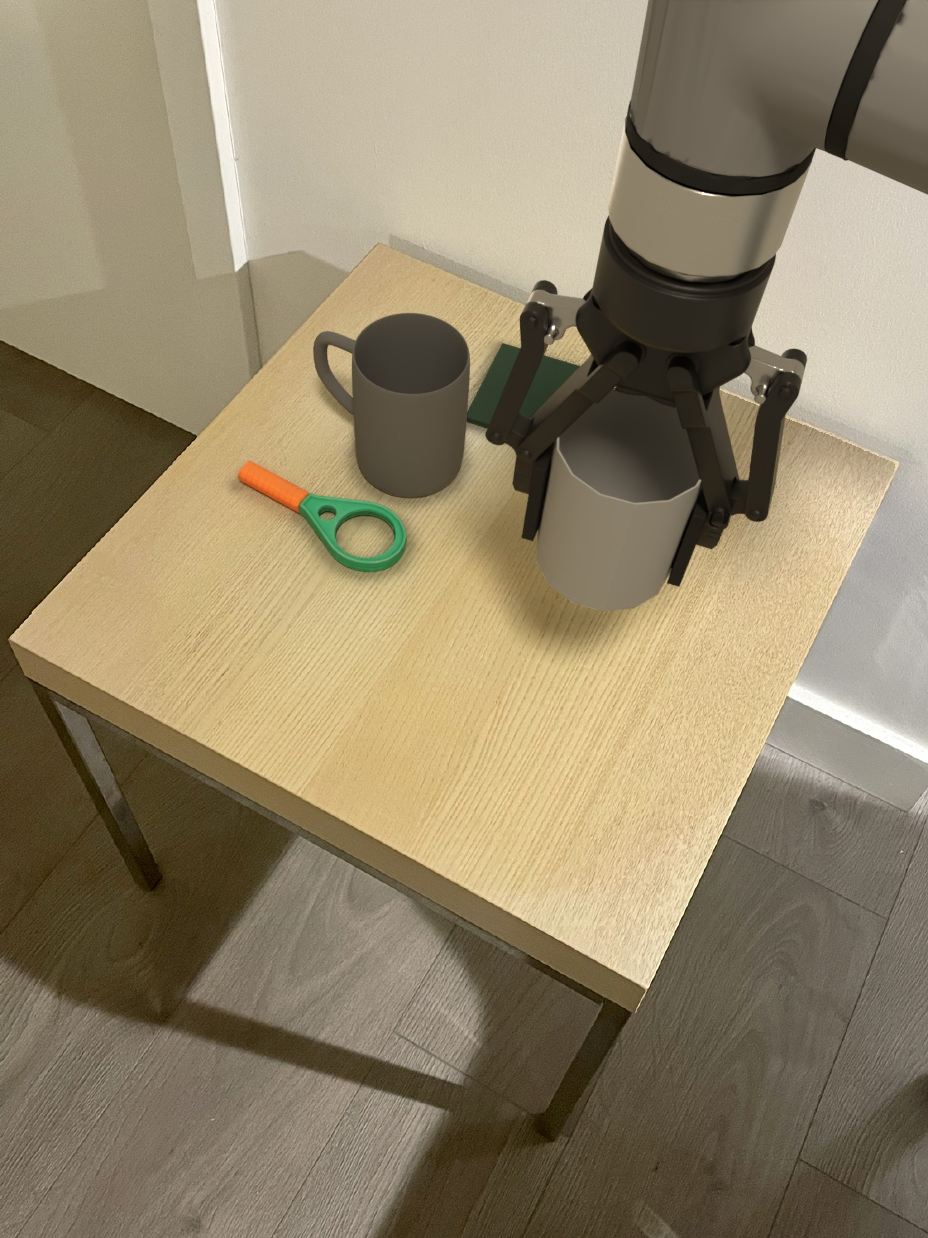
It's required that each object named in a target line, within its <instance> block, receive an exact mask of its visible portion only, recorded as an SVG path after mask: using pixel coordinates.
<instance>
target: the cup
mask: <svg viewBox="0 0 928 1238" xmlns="http://www.w3.org/2000/svg"><path fill="white" fill-rule="evenodd" d="M615 388H616V387H615ZM615 388H614V389H613V390H612V391H611V392H609V393H608V394H607V395H606V396H605V397H604V398H603V399H602V400H601V401H600V402H599V403H598V404H596V403H594V404H593V405H592V406H590V407H589V408H588V409H587V410H586V411H585V412H584V413H583V414H582V415H581V416H580V417H579V418H578V419H577V420H576V421H575V422H574V423H573V424H572V425H571V426H570V427H569V428H568V429H567V430H566V431H565V432H563V433H562V434H561V435H560V436H559V437H558V438H557V439H556V440H555V441H554V446H553V451H552V457H551V463H550V468H549V474H548V479H547V484H546V490H545V495H544V500H543V506H542V511H541V517H540V522H539V527H538V530H537V533H536V544H535V545H536V546H535V562H536V564H537V566H538V568H539V569H540V571H541V573H542V575H543V577H544V579H545V582H546V583H547V585H548V586H550V587H551V588H552V589H553V590H555V591H556V592H557V593H559V594H560V595H562V596H563V597H564V598H565V599H567V600H568V601H569V602H570V603H572V604H575V605H578V606H583V607H586V608H588V609H592V610H596V611H600V612H610V611H622V610H633V609H635V608H637V607H639V606H641V605H642V604H644V603H646V602H647V601H649V600H651V599H653V598H654V597H657V596H658V595H659V593H660V591H662V588H663V586H664V585H665V583H666V581H668V579H669V575H670V572H671V569H672V566H673V563H674V560H675V558H676V555H677V552H678V550H679V547H680V544H681V542H682V539H683V536H684V534H685V531H686V528H687V526H688V523H689V520H690V518H691V515H692V512H693V510H694V507H695V504H696V502H697V499H698V497H699V495H700V493H701V490H702V485H701V480H700V478H699V474H698V470H697V467H696V463H695V459H694V456H693V452H692V448H691V445H690V441H689V437H688V434H687V430H686V429H683V428H682V426H681V423H680V419H679V416H678V412H677V408H676V406H675V408H674V407H670V406H667V405H663V404H660V403H658V402H656V401H654V400H652V399H650V398H648V397H646V396H637V395H628V394H625V393H621V392H618V391H615Z"/></svg>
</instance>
